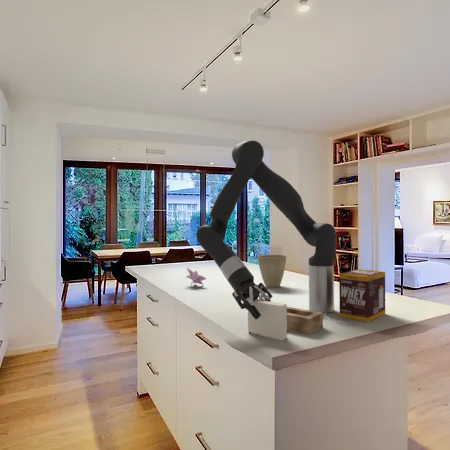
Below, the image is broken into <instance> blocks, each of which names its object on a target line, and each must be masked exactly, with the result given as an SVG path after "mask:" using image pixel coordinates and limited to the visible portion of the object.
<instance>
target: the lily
mask: <svg viewBox="0 0 450 450" xmlns="http://www.w3.org/2000/svg"><path fill="white" fill-rule="evenodd" d="M186 270H187V272H188V274H189V275H186V276H185V278H187V279H190V280H192V281H191V284H190V286H192V285H193V284H194V283H197V284H199V285H200V284H202V285H203V286H204V284H203V282H202V281H206V280H207V277H205V276H204V275H201V274H199V273H198V270H194V271H193V270H191V269H190V268H188V267H186ZM202 285H201V286H202Z"/></svg>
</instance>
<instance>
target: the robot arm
mask: <svg viewBox="0 0 450 450" xmlns="http://www.w3.org/2000/svg"><path fill="white" fill-rule="evenodd" d="M264 154H265V151H264V147H263V146H262V144H261V143H260V142H259V141H257V140H254V139H251V140H244V141H242V142H239V143H238V144H236V145H235V146H234V147H233V149H232V151H231V156H232V161H233V162H234V164H235V166H234V169H233V170H232V171H233V172H232V174H231V175H230V177H229V179H228V180H227V182H226V183H225V185H224V186H223V187H222V189H221V190H220V192H219V194H217V197H216V199H215V201H214V203H213V205H212V208H211V210H210V213H209V217H210V218H211V222H210V225H209V224H204V225H201V226H199V227H198V228H197V230H196V235H195V236H196V237H195V238H196V240H197V242H198V244H199V245H200V247H201V248H202V249H203V250H204V251H205V252H206V253H207V254H208V255H209V256H210V257H211V258H212V259H213V261H214V262H215V264H216V265H217V267H218V269H220V271H221V273H222V275H223V276H224V278H225V279H226V281H227V282H228V284H229V285H230V286H231V288H232V290H234V291H233V292H232V293H231V295H232V297H233V299H234V300H235V302H236V303H237V305H238V306H239V308H240V310H246V311H248V310H249V312H250V313H251V315H252V316H253V317H254V318H255V319H258V318H259V317H260V316H261V314H260V312H259V311H258V310H257V308H256V307H255V306H254V305H253V300H256V299H257V300H264V301H270V302H272V298H273V295H272V293H271V292H270V290H269V289H267V288H268V287H266V286H265V284H264V282H260V283H258V284H256V283H255V282H254V281H255V276H254V275H253V273H252V272H250V270H249V269H248V267H247V266H246V265H245V263H244V262H243V260H242V259H240V258H239V256H238V255H237V254H236V253H235V251H234V250H233V248H232V247H230V245H228V244H227V243H225V241H224V240H225V238H226V233H227V229H228V224H229V220H230V219H231V216H232V214H233V212H234V210H235V208H236V206H237V203H238V202H239V199H240V197H241V195H242V194H243V191H244V190H245V187H246V186H247V184H248V182H249V181H250V179H251V180H253V182H254V183H255V184H256V186H258V187H259V189H260V190H261V191H262V192H263V193H264V194H265V195H266V197H267V198H268V199H269V200H270V202H272V204H273V205H274V206H275V208H277V210H279V211H280V212H281V213H282V214H283V215H284V217H285V218H287V219H288V221H289V222H290V223H291V224H292V226H294V228H295V229H296V230H297V231H298V232H299V234H300V236H301V237H302V238H303V240H304V241H305V242H306V243H307V245H310V247H311V246H312V247H313V248H314V247H315V249H314V250H315V251H314V254H313V255H311V256H310V257H309V258H308V310H310V311H316V312H322V313H323V314H325V313H327V314H328V313H333V312H334V311H335V277H334V276H335V273H334V272H335V269H334V267H335V266H334V263H335V262H334V261H335V259H336V256H337V231H336V229H335V227H334V226H333V225H332V224H331V223H327V222H325V223H324V222H322V223H321V222H316V221H315V220H314V219H313V218H312V217H311V216H310V215H309V213H307V211H306V209H305V206H304V203H303V200H302V196H301V195H300V194H299V192H298V191H297V190H296V189H295V187H294V186H293V185H292V184H291V183H290V182H289V181H288V180H287V179H285V178H284V177H282V176H281V175H279V174H278V173H276V172H275V171H273V170H272V169H271V168H270V167H269V166H268V165H267V164H266V163H265V162H264V161H263V158H264Z"/></svg>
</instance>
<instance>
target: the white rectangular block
mask: <svg viewBox="0 0 450 450" xmlns="http://www.w3.org/2000/svg"><path fill="white" fill-rule="evenodd" d="M264 300H265V299H264ZM264 300H257V299H256V300H253V305H254V306H255V307H256V308H257V310H258V311H259V312H260V314H261V316H260V317H259V318H258V319H255V318H254V317H253V316H252V315H251V313H250V312H249V310H247V333H248V332H251V333H250V334H252V333H255V334H254V335H256V334H259V335H258V336H261V335H262V336H261V337H265V336H266V337H265V338H269V337H270V338H269V339H273V338H274V340H277V339H278V341H283V340H285V339H287V338H288V330H287V307H288V306H287V305H288V304H287V303H281V302H274V301H271V302H270V301H264Z"/></svg>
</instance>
